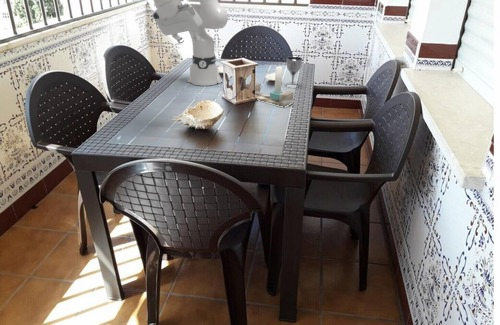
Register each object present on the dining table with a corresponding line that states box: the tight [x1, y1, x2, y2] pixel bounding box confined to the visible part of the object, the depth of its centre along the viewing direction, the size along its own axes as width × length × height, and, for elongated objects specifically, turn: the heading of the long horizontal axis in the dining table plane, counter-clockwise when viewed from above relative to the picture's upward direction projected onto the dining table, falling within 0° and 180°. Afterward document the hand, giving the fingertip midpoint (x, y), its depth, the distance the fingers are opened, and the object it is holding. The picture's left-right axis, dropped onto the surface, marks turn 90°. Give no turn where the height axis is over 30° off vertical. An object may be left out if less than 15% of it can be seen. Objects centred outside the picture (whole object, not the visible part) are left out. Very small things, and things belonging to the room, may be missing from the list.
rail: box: [254, 82, 295, 107], centre depth 192 cm, size 22×7×6 cm, turn 52°
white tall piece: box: [269, 65, 285, 100], centre depth 187 cm, size 5×5×14 cm
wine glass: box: [286, 55, 303, 85], centre depth 212 cm, size 8×8×15 cm
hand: (189, 41), depth 155 cm, fingers open, 8 cm apart
